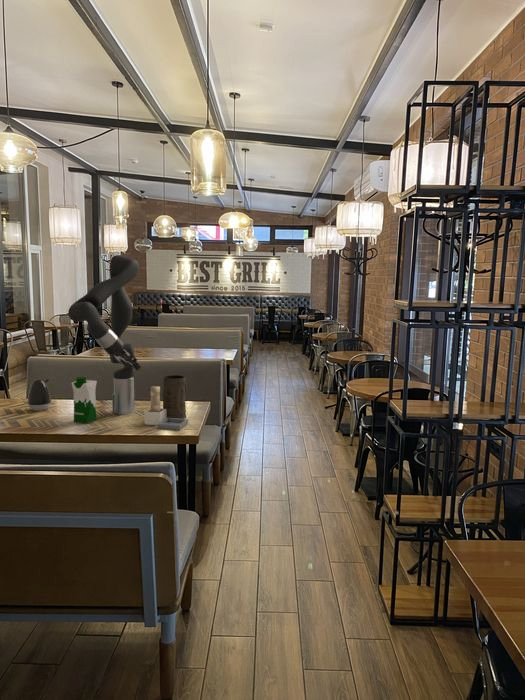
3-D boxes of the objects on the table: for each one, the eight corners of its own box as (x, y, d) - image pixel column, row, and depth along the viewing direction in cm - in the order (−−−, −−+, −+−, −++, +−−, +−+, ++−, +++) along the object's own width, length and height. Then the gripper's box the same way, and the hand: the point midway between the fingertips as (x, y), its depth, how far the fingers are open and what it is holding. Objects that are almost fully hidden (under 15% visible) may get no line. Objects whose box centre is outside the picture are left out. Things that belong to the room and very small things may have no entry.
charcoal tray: (157, 429, 205) (157, 423, 205) (166, 423, 215) (166, 417, 214) (179, 431, 203) (179, 425, 203) (188, 424, 213) (188, 419, 212)
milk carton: (70, 422, 213) (69, 378, 210) (84, 417, 221) (83, 374, 218) (87, 424, 210) (85, 379, 207) (100, 419, 218) (99, 376, 216)
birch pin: (149, 423, 212) (149, 387, 210) (153, 420, 216) (152, 385, 214) (157, 424, 211) (157, 388, 209) (161, 421, 215) (161, 386, 213)
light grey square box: (144, 425, 211) (144, 411, 210) (151, 420, 218) (151, 407, 217) (159, 426, 209) (159, 413, 209) (166, 421, 216) (166, 408, 216)
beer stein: (180, 422, 216) (181, 378, 214) (158, 420, 218) (159, 376, 216) (192, 415, 231) (193, 374, 229) (171, 414, 233) (172, 373, 231)
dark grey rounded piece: (56, 409, 234) (55, 378, 232) (36, 413, 225) (35, 381, 223) (43, 406, 239) (42, 376, 237) (23, 410, 231) (22, 379, 229)
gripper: (124, 335, 192) (148, 363, 201) (106, 333, 202) (130, 359, 211) (111, 349, 188) (136, 376, 198) (94, 346, 198) (119, 372, 208)
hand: (133, 367), depth 204 cm, fingers open, 8 cm apart
